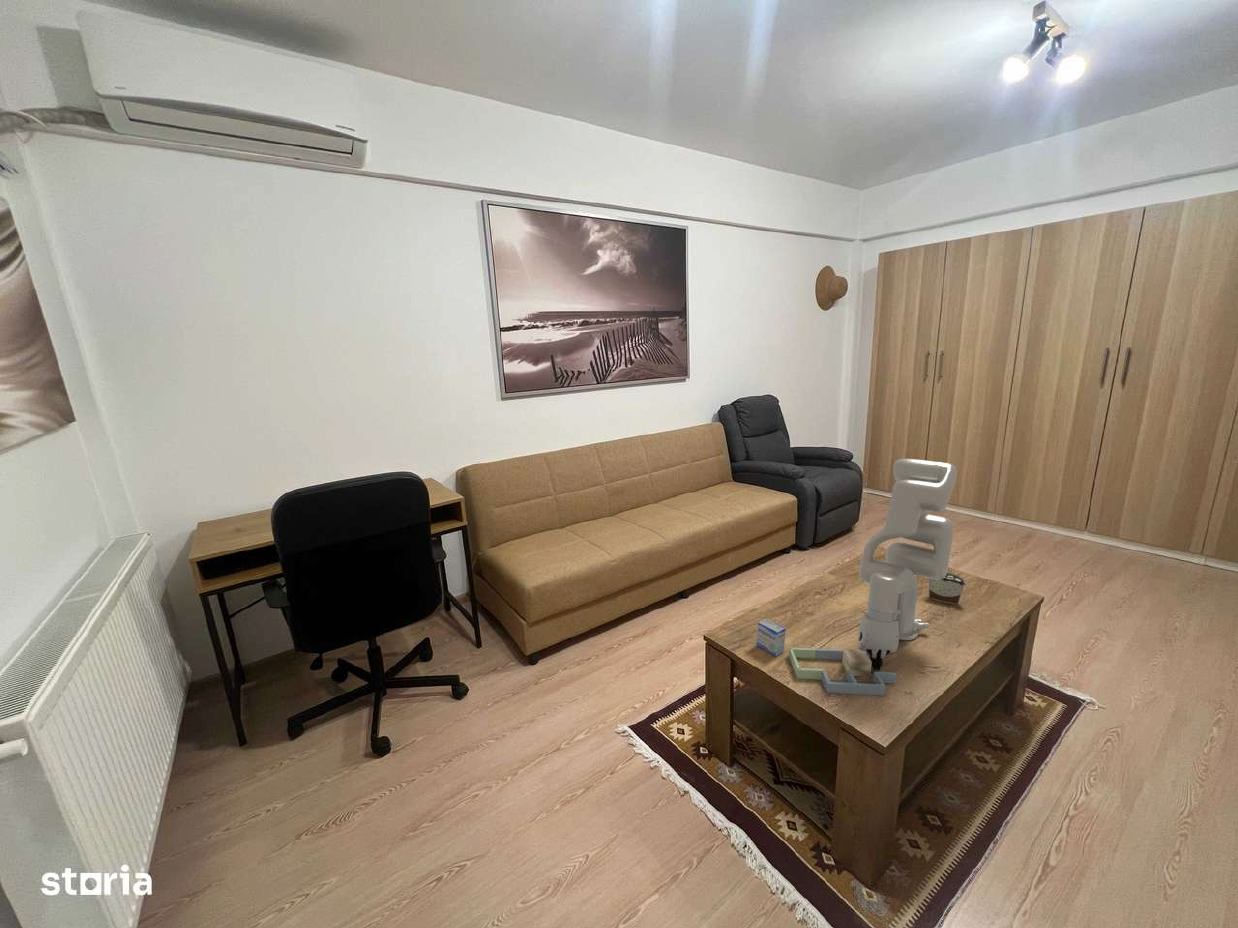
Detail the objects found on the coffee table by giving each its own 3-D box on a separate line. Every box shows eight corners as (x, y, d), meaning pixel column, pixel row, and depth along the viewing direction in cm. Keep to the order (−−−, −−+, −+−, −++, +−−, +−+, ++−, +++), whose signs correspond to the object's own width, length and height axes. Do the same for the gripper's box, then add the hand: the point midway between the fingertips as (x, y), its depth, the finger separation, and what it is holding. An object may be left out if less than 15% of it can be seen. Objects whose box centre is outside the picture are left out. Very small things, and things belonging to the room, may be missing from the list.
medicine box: (755, 645, 163) (756, 622, 161) (764, 640, 165) (765, 617, 163) (776, 657, 156) (777, 632, 154) (784, 651, 159) (786, 627, 157)
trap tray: (880, 659, 154) (881, 651, 153) (904, 696, 138) (905, 687, 137) (788, 655, 157) (789, 647, 156) (801, 691, 141) (802, 682, 140)
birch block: (862, 663, 152) (863, 649, 151) (870, 676, 146) (871, 661, 145) (842, 663, 153) (843, 648, 151) (849, 675, 147) (850, 661, 146)
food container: (962, 598, 189) (965, 574, 186) (962, 605, 184) (966, 581, 181) (924, 591, 195) (927, 567, 193) (924, 597, 190) (927, 573, 188)
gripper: (902, 606, 147) (895, 660, 151) (850, 605, 149) (845, 658, 153) (914, 620, 140) (907, 676, 144) (859, 618, 141) (854, 674, 146)
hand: (875, 667), depth 148 cm, fingers closed
